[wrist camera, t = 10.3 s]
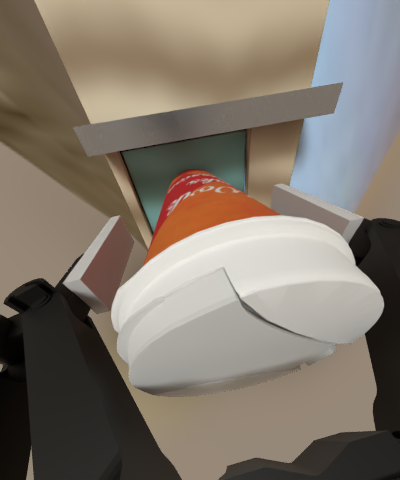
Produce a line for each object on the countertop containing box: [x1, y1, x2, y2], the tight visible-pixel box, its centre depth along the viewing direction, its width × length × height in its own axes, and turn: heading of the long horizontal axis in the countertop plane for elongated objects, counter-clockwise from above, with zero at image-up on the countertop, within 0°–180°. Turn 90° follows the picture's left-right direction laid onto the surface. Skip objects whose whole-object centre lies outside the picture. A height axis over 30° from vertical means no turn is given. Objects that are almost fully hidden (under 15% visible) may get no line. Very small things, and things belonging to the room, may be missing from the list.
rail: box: [73, 83, 343, 157], centre depth 11 cm, size 2×18×3 cm, turn 98°
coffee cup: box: [111, 169, 384, 397], centre depth 10 cm, size 8×8×15 cm
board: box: [35, 0, 330, 250], centre depth 14 cm, size 20×18×1 cm
